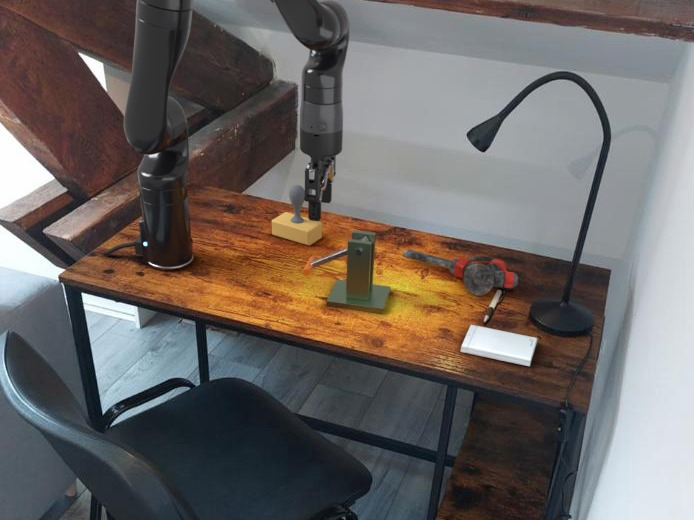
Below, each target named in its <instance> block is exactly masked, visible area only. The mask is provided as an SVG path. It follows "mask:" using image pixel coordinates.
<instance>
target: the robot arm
mask: <svg viewBox="0 0 694 520" xmlns="http://www.w3.org/2000/svg"><path fill="white" fill-rule="evenodd" d="M269 1H270V2H271V3H272V4H273V6H275V8H276V10H277V11H278V13H279V15H280V17H281V19H282V20H283V22H284V23H285V25H286V26H287V28H288V29H289V31H290V33H291V34H292V35H293V37H294V38H295V39H296V40H297V42H299V43H300V44H301V45H302V46H304V47H305V48H306V49H308V50H309V54H308V58H307V61H306V62H305V64H304V66H303V67H302V71H301V99H300V101H301V102H300V108H299V149H300V151H301V152H302V153H303V154H304V155H307V156H309V157H310V162H308V163H307V167H306V168H305V169H304V191H305V196H304V202H307V204H308V208H307V209H308V210H307V211H308V213H307V215H308V217H307V218H309V220H312V221H320V222H321V219H322V203H324V204H330V203H331V202H332V195H333V192H332V191H333V183H334V182H335V181H334V180H335V179H334V178H335V176H336V174H337V172H336V166H337V165H336V161H337V159H336V158H337V157H336V156H338V155H339V154H341V153H342V151H343V136H344V135H343V133H344V132H343V131H344V107H343V88H344V87H343V86H344V85H343V83H344V76H343V73H344V68H345V64H346V59H347V54H348V49H349V48H348V47H349V42H350V36H351V35H350V33H351V24H350V18H349V14H348V11H347V10H346V8H345V7H344V5H343V4H342V3H340V1H338V0H320V1H319V0H269ZM193 7H194V0H136V7H135V28H134V29H135V30H134V42H133V51H132V52H133V53H132V67H131V77H130V82H129V88H128V92H127V93H128V94H127V99H126V104H125V109H124V116H123V131H124V135H125V138H126V140H127V142H128V143H129V145H130V146H131V148H132V149H133V150H134V151H136V152H137V153H138V154H141V155H143V157H142V159H141V162H140V163H139V165H138V168H137V171H136V174H137V175H136V176H137V184H138V191H139V192H138V194H139V201H140V208H141V209H140V211H141V218H140V219H139V220H138V230H139V236H138V237H136V239H135V240H134V241H133V242H126V243H122V244H118V245H116V246H113V247H112V248H110V249H108V250H103V252H102V254H103V256H110V255H112V254H113V253H115V252H116V251H118V250H123V249H126V248H133V247H134V252H135V253H134V254H135V255H138V256H142V262H143V265H148V266H149V267H150V268H153V269H154V270H159V271H177V270H181V269H184V268H186V267H189V266H190V265H191V264H192V263H193V262H194V252H193V245H194V239H193V237H192V232H191V231H192V229H191V219H190V206H189V205H190V204H189V195H188V193H189V192H188V182H187V181H188V180H187V172H188V169H189V165H190V150H189V149H190V144H189V142H190V141H189V125H188V120H187V116H186V114H185V111H184V108H183V107H182V105H181V104H180V103H179V102H178V101H177V100H176V99H175V98H174V97H171V96H170V90H171V89H170V88H171V86H172V85H171V84H172V81H173V78H174V75H175V73H176V70H177V68H178V66H179V64H180V61H181V59H182V56H183V54H184V52H185V49H186V46H187V43H188V40H189V38H190V37H189V36H190V33H191V27H192V19H193V9H194V8H193ZM313 190H314V191H315V192H314V194H312V193H313Z"/></svg>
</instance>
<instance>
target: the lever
mask: <svg viewBox="0 0 694 520" xmlns="http://www.w3.org/2000/svg"><path fill="white" fill-rule="evenodd" d="M356 240H361V241H369V240H368V238H367V236H363V237H361V238H358V239H356ZM347 249H348V247H346V248H343V249H341V250H338V251H336V252H333V253H331V254H328V255H325V256H323V257H320V258H318V257H316V256H314V255H312V256H310V257H309V258H308V261H307V262H306V264H305V266H304V268H303V269H302V275H303V276H305V277H309V276H310V275H311V273H312V272H313V270H314V269H315V268H318V267H320V266H323V265H325V264H328V263H330V262H333V261H335V260H338V259H341V258H343V257H345V256H346V257H347Z"/></svg>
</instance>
